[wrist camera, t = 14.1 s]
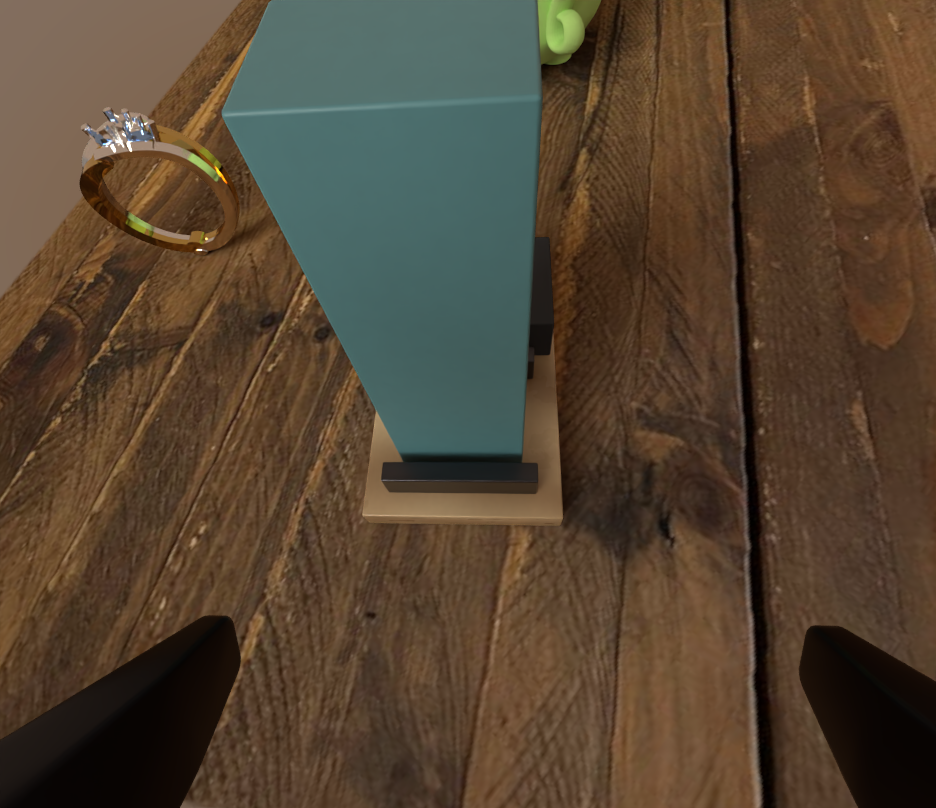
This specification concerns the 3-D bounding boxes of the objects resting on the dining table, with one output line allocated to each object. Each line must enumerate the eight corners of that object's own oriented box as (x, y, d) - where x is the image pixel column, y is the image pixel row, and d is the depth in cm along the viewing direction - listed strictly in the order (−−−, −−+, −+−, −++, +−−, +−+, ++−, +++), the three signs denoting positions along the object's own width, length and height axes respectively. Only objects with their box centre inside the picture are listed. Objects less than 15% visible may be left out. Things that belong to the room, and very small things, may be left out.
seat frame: (560, 526, 20) (569, 500, 17) (369, 523, 21) (343, 497, 18) (548, 288, 26) (553, 236, 23) (398, 291, 27) (383, 241, 24)
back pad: (522, 463, 21) (543, 96, 7) (402, 462, 21) (217, 113, 8) (521, 389, 22) (536, -22, 9) (410, 390, 23) (268, -2, 9)
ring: (266, 226, 30) (191, 91, 23) (256, 267, 29) (172, 135, 22) (155, 234, 31) (48, 103, 23) (139, 274, 29) (20, 147, 22)
